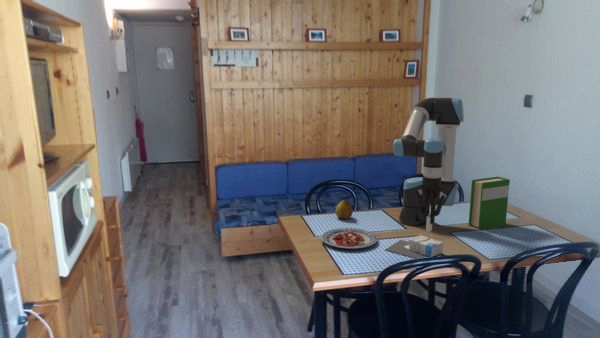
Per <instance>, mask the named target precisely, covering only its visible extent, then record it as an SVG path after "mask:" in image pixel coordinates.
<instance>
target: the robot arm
mask: <svg viewBox="0 0 600 338" xmlns="http://www.w3.org/2000/svg"><path fill="white" fill-rule="evenodd" d="M464 116H465V115H464V103H463V99H461V98H458V97H457V98H456V97H426V98H423V99H422V100H420V101H419V102H416V104H414V106H413V107H412V108H411V109H410V111H409V119H408V122H407V124H406V125H405V129H404V131H403V133H402V136H401V138H395V139H394V141H393V144H392V145H393V146H392V153H393V154H394V156H397V157H398V156H399V157H410V158H422V159H423V166H422V177H421V176H419V177H417V176H416V177H410V178H407V179H405V181H404V183H403V188H402V189H403V190H402V191H403V195H402V196H403V197H402V208H401V211H400V213H399V216H398V221H399V223H402V224H404V225H407V226H412V227H413V226H414V227H418V226H419V227H420V226H422V227H423V226H425V225H426V226H425V232H429V233H430V232H431V231H432V230H433V225H434V224H435V220H436V219H435V218H436V217H438V216H439V215H440V213H441V211H442V208H443V207H452V206H454V205H455V203H456V200H457V199H456V198H457V195H458V191H459V184H458V183H456V182H457V180H456V179H455V177H454V165H455V153H456V152H455V151H456V141H457V140H456V139H457V129H458V128H459V127H460V126H461V123H463V122H464ZM430 121H431V122H435V126H436V128H437V129H438V131H437V138H426V139H425V140H424V139H420V138H421V135H422V133H423V129H424V127H425V124H426V123H427V122H430Z"/></svg>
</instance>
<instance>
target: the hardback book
mask: <svg viewBox="0 0 600 338" xmlns="http://www.w3.org/2000/svg"><path fill="white" fill-rule="evenodd" d="M510 183H511V182H510V179H509V178H505V177H502V176H501V177H500V176H493V177H483V178H477V179H476V178H475V179H471V190H470V201H469V215H468V226H469V227H472V226H474V227H477V228H478V229H477V230H479V231H481V230H486V229H490V228H495V227H502V226H506V223H507V222H506V221H507V214H508V213H507V212H508V202H509V201H508V200H509V193H510Z"/></svg>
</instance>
